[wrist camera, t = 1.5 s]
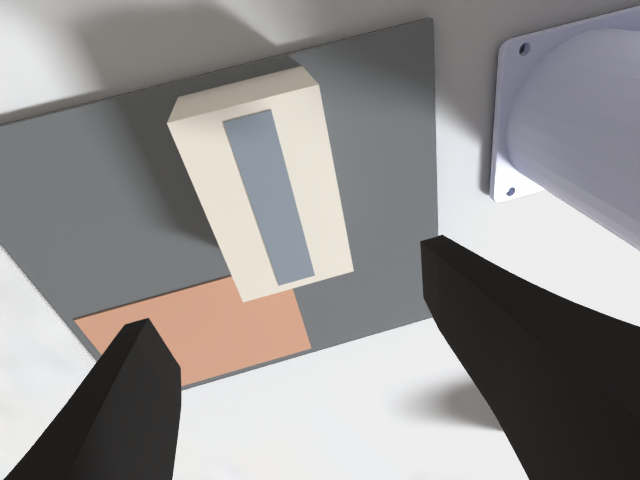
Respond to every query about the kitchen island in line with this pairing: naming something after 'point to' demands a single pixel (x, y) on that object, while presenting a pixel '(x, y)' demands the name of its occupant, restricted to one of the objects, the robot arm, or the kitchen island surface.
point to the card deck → (266, 179)
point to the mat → (194, 228)
